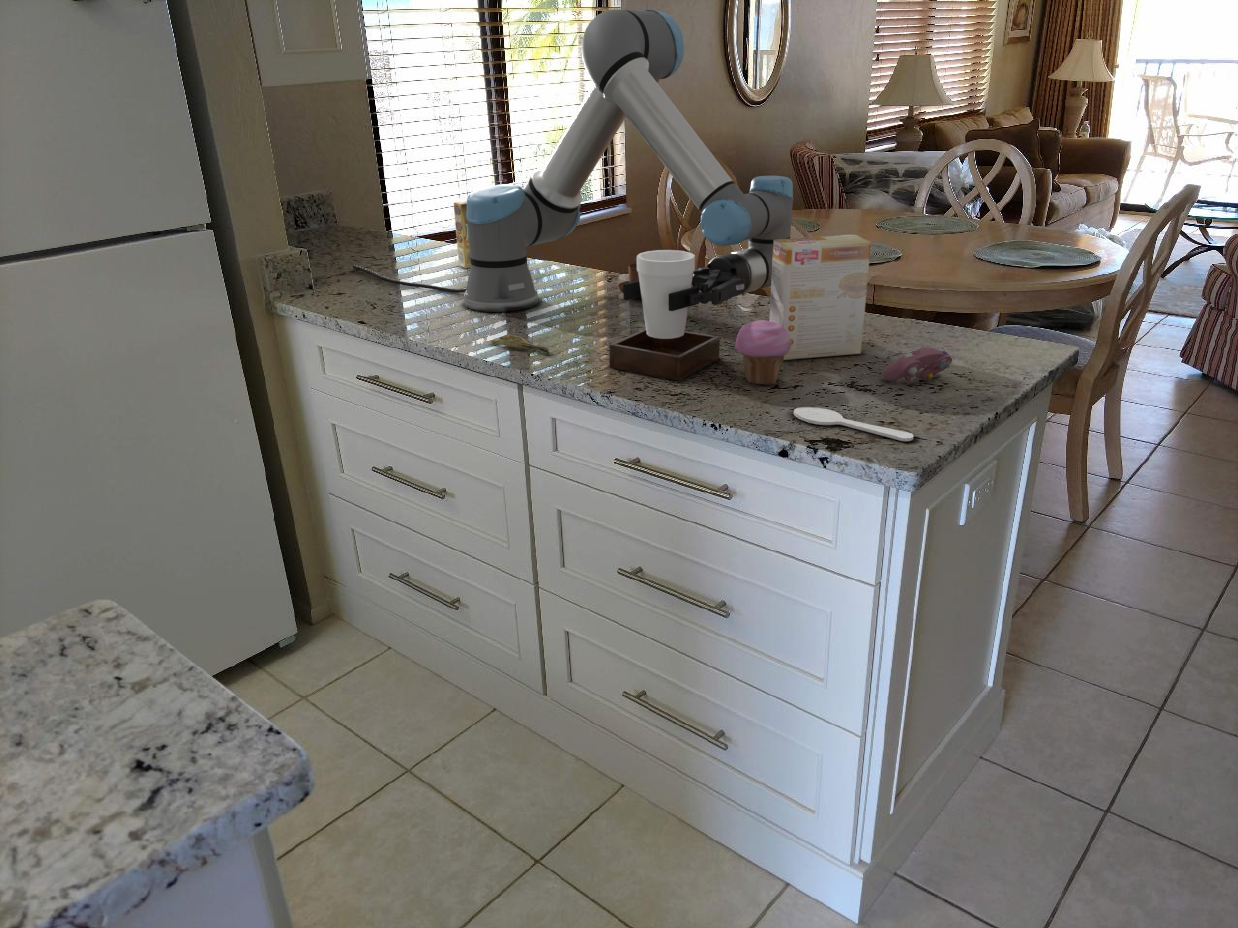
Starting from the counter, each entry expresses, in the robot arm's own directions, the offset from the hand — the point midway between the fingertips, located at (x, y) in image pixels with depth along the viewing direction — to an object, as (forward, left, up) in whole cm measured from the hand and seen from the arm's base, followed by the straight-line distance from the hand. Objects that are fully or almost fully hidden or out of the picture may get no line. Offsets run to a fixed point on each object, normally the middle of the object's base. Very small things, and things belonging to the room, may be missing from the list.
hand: (647, 297), depth 155 cm
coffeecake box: (+20, +23, -12) cm, 33 cm away
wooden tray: (+1, +4, -12) cm, 13 cm away
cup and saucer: (-27, +43, -12) cm, 53 cm away
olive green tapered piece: (-25, -1, -12) cm, 28 cm away
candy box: (-78, +47, -12) cm, 92 cm away
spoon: (+38, -7, -12) cm, 41 cm away
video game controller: (+40, +17, -12) cm, 45 cm away
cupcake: (+19, +4, -12) cm, 23 cm away
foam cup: (+1, +4, -7) cm, 8 cm away
